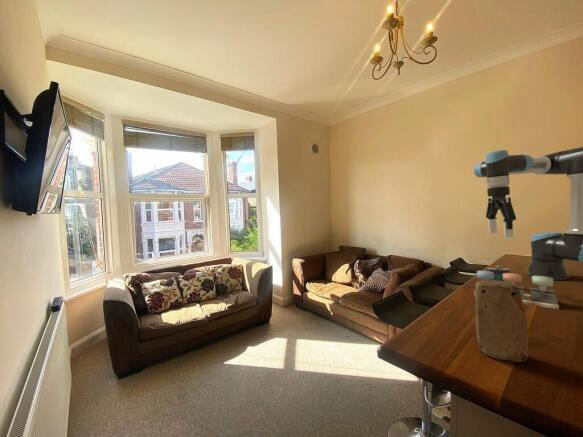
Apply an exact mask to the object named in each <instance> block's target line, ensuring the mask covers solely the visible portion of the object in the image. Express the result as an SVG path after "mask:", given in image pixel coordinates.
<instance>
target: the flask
mask: <svg viewBox="0 0 583 437" xmlns="http://www.w3.org/2000/svg"><path fill="white" fill-rule="evenodd" d="M501 267H502V266H500V265H496V267H488V268H486V270H485V271H491V272H493V273H494V279H492V280H496V281H501V282H504V280H503V273H511V269H510V268H501ZM506 282H507V281H506Z"/></svg>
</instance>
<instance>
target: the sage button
mask: <svg viewBox="0 0 583 437" xmlns="http://www.w3.org/2000/svg"><path fill="white" fill-rule="evenodd" d="M531 283H532V284H533V285H535V286H538V289H539V292H541V293H546V290H547V287H553V286H554V280H553V278H550V277H546V276H531Z"/></svg>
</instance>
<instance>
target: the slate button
mask: <svg viewBox="0 0 583 437" xmlns="http://www.w3.org/2000/svg"><path fill="white" fill-rule="evenodd" d="M476 278H477V279H480V280H492V279H494V273H493V272H491V271H486V270H477V271H476Z"/></svg>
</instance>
